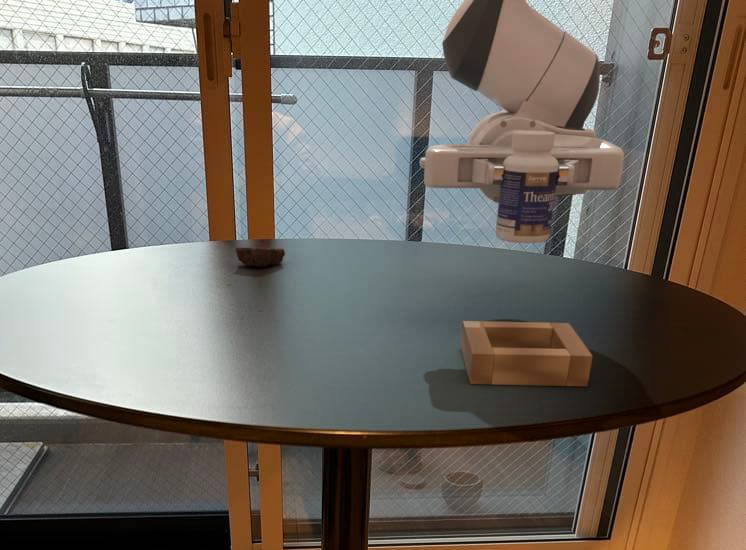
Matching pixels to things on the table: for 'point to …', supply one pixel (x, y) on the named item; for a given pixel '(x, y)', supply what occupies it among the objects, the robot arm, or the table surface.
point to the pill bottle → (528, 189)
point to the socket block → (524, 354)
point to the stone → (260, 256)
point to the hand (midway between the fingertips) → (531, 175)
